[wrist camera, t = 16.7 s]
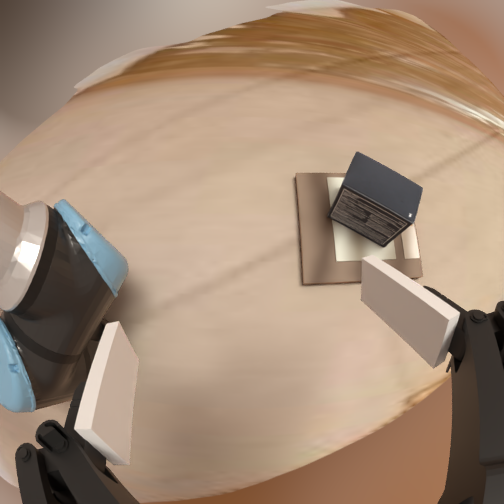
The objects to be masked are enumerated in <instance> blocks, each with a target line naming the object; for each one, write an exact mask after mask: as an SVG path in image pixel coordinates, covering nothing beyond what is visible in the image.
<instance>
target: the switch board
mask: <svg viewBox="0 0 504 504" xmlns="http://www.w3.org/2000/svg"><path fill="white" fill-rule="evenodd" d="M345 175H346V173H296V177H295V178H296V189H297V201H298V213H299V227H300V241H301V258H302V278H303V285H312V284H334V283H354V282H362V258H364V257H367V256H370V255H374V256H376V257H377V258H379V259H380V260H382V261H384V262H385V263H387V264H388V265H390V266H392V267H393V268H395V269H396V270H398V271H399V272H401V273H402V274H404V275H406V276H407V277H409V278H410V279H413V278H420V277H423V273H422V265H421V257H420V250H419V244H418V238H417V232H416V227H415V222H414V224H412V225H410V226H409V227H408V228H407V229H406V230H405V231H403V232H402V233H401V234H400V235H399V236H397V237H396V238H395V239H394V240H392V241H391V242H390V243H389V244H388V245H387V246H386V247H384V248H383V247H382V246H380V245H378V244H376V243H374V242H373V241H371V240H369V239H367V238H365V237H364V236H362V235H360V234H358V233H356V232H354V231H353V230H351V229H349V228H347V227H345V226H343V225H341V224H340V223H338V222H336V221H334V220H332V219H330V218H328V217H327V214H328V212H329V210H330V208H331V206H332V204H333V202H334V200H335V198H336V196H337V194H338V191H339V189H340V187H341V184H342V182H343V180H344V177H345Z"/></svg>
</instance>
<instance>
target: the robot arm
mask: <svg viewBox="0 0 504 504" xmlns="http://www.w3.org/2000/svg"><path fill="white" fill-rule="evenodd" d="M127 273H128V263H127V260H126V259H125V257H124V256H123V255H122V254H121V253H120V252H119V251H118V250H117V249H116V248H115V247H114V246H113V245H112V244H110V243H109V242H108V241H107V240H106V239H105V238H104V237H103V236H102V235H101V234H100V233H99V232H98V231H97V230H96V229H95V228H94V227H93V226H92V225H91V224H90V223H89V222H88V221H87V220H86V219H85V218H84V217H83V216H82V215H81V214H80V213H79V212H78V211H77V210H76V209H75V208H74V207H72V206H71V205H70V204H69V203H68V202H67V201H66V200H64V199H62V200H60V201H59V202H58V203H56V204H55V205H54V209H52V208H51V207H49V206H48V205H46V204H45V203H44V202H42V201H35V202H32V203H29V204H27V205H24V206H22V205H19V204H18V203H17V202H15V201H14V200H12V199H11V198H10V197H8V196H7V195H5V194H4V193H3V192H1V191H0V308H1V309H2V310H3V313H2V315H1V316H0V404H1V405H2V406H4V407H5V408H6V409H8V410H11V411H12V412H33V411H35V410H37V409H40V408H44V407H48V406H52V405H56V404H59V403H63V402H66V401H70V400H72V401H71V404H70V408H69V411H68V415H67V418H66V422H65V426H64V428H63V427H62V426H61V425H60V424H59V423H58V422H57V421H55V420H47V421H45V422H43V423H42V424H41V425H40V426H39V427H38V429H37V431H36V436H35V437H36V441H37V442H38V443H39V444H40V445H41V446H42V447H43V448H42V449H36V448H35V447H34V446H33V445H32V444H30V443H24V444H22V445H20V446H19V448H18V449H17V451H16V454H15V461H16V469H17V476H18V482H19V488H20V493H21V498H22V503H23V504H140V503H139V502H138V501H137V500H136V499H135V498H134V497H133V496H132V495H131V494H130V493H129V492H128V491H127V489H126V488H125V487H124V486H123V485H122V484H121V482H120V481H119V480H118V479H117V478H116V476H115V475H114V474H113V473H112V472H111V470H110V469H109V468H108V467H107V466H106V459H107V460H108V461H110V462H111V463H112V464H113V465H130V449H131V433H132V420H133V409H134V399H135V390H136V382H137V374H138V367H139V359H138V357H137V355H136V353H135V352H134V350H133V348H132V346H131V344H130V342H129V340H128V338H127V336H126V334H125V332H124V330H123V328H122V326H121V324H120V322H119V321H117V322H112V323H109V322H108V321H106V320H105V319H103V317H104V315H105V313H106V312H107V310H108V309H109V307H110V305H111V304H112V302H113V301H114V299H115V298H116V297H117V296H118V291H119V289H120V287H121V285H122V284H123V282H124V280H125V278H126V276H127ZM361 301H362V302H364V303H365V304H366V305H367V306H368V307H369V308H370V309H371V310H372V311H373V312H374V313H376V314H377V315H378V316H379V317H380V318H381V319H382V320H383V321H384V322H385V323H386V324H387V325H389V326H390V327H391V328H392V329H393V330H394V331H395V332H396V333H397V334H398V335H399V336H400V337H401V338H402V339H403V340H404V341H405V342H407V343H408V344H409V345H410V346H411V347H412V348H413V349H414V350H415V351H416V352H417V353H418V354H419V355H420V356H421V357H422V358H423V359H424V360H425V361H426V362H427V363H428V364H429V365H430V366H431V367H432V368H433V369H434V368H435V367H437V366H438V365H440V364H441V363H442V362H444V361H445V358H446V356H447V353H448V352H450V353H451V354H452V357H451V359H450V362H449V364H448V367H447V369H446V372H448V371H449V369H450V367H451V375H452V434H451V448H450V457H449V466H448V473H447V480H446V485H445V490H444V492H443V495H442V496H441V498H440V500H439V502H438V504H504V301H500V302H498V304H497V305H496V309H495V312H492V313H489V314H486V313H484V312H483V311H480V310H470V311H468V312H467V311H465V310H464V309H463V308H461V307H460V306H458V305H457V304H455V303H454V302H453V301H451V300H450V299H447V297H445V296H444V295H441V293H439V292H438V291H436V290H435V289H433V288H430V287H427V286H423V287H422V286H421V285H419V284H418V283H416V282H415V281H413V280H412V279H410V278H409V277H407V276H406V275H404V274H402V273H401V272H399V271H398V270H396V269H395V268H393V267H392V266H390V265H388V264H387V263H385V262H384V261H382V260H380V259H379V258H377V257H376V256H374V255H370V256H367V257H364V258H362V282H361Z"/></svg>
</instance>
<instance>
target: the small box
mask: <svg viewBox="0 0 504 504" xmlns="http://www.w3.org/2000/svg"><path fill="white" fill-rule="evenodd" d="M422 191H423V188H422V187H421V186H419V185H417V184H416V183H414V182H412V181H411V180H409V179H407V178H406V177H404V176H402V175H400V174H399V173H397V172H395V171H393V170H392V169H390V168H388V167H386V166H384V165H382V164H381V163H379V162H377V161H375V160H373V159H371V158H369V157H367V156H365V155H364V154H362V153H360V152H356V154H355V156H354V158H353V160H352V162H351V164H350V166H349V169H348V171H347V173H346V175H345V177H344V180H343V182H342V184H341V187H340V189H339V191H338V194H337V196H336V198H335V200H334V202H333V204H332V206H331V208H330V210H329V212H328V214H327V217H328V218H330V219H332V220H334V221H336V222H338V223H340V224H341V225H343V226H345V227H347V228H349V229H351V230H353V231H354V232H356V233H358V234H360V235H362V236H364V237H365V238H367V239H369V240H371V241H373V242H374V243H376V244H378V245H380V246H382V247H383V248H384V247H386V246H387V245H388V244H389V243H390V242H391V241H392V240H394V239H395V238H396V237H397V236H399V235H400V234H401V233H402V232H403V231H405V230H406V229H407V228H408V227H409V226H410V225H412V224H414V222H415V218H416V215H417V211H418V207H419V203H420V199H421V195H422Z"/></svg>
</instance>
